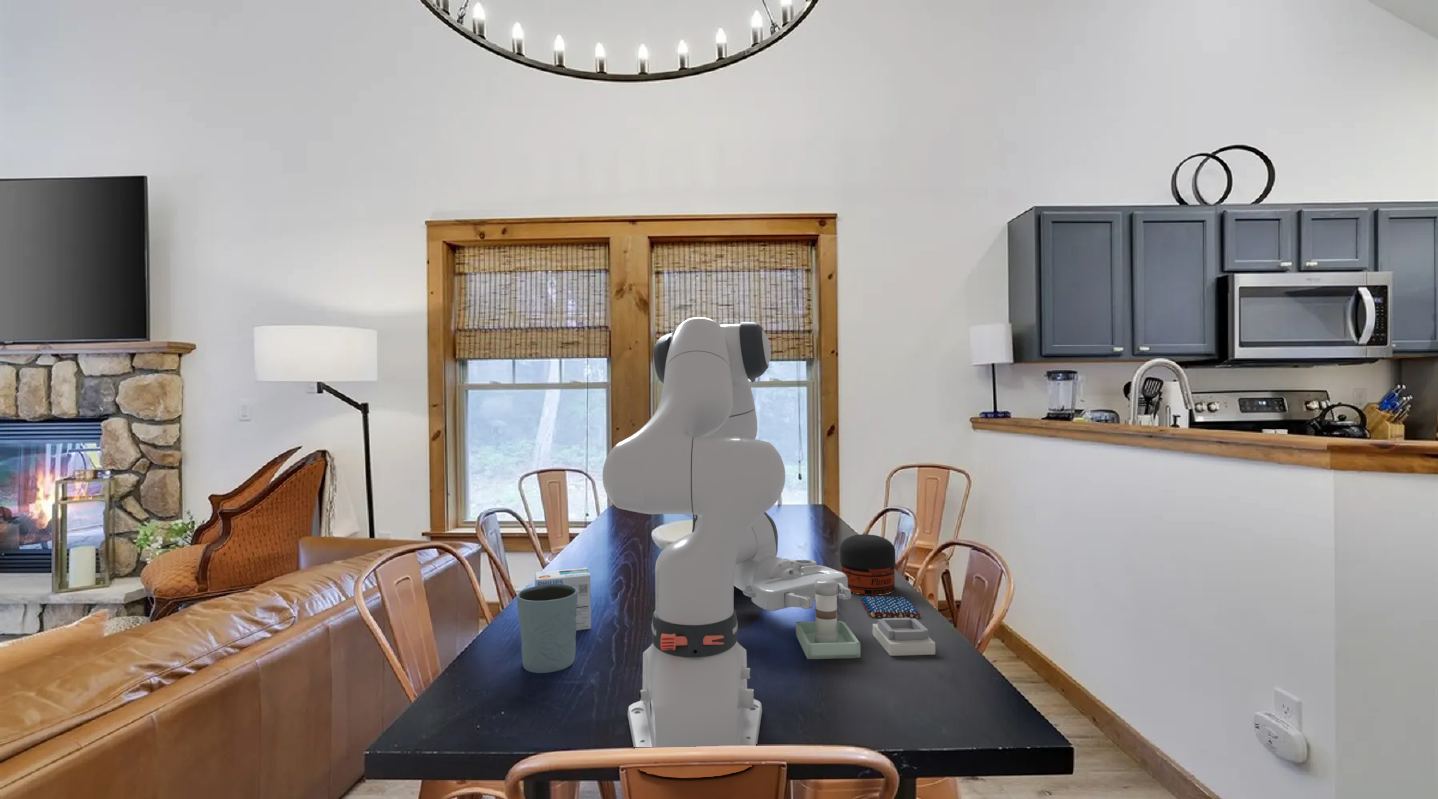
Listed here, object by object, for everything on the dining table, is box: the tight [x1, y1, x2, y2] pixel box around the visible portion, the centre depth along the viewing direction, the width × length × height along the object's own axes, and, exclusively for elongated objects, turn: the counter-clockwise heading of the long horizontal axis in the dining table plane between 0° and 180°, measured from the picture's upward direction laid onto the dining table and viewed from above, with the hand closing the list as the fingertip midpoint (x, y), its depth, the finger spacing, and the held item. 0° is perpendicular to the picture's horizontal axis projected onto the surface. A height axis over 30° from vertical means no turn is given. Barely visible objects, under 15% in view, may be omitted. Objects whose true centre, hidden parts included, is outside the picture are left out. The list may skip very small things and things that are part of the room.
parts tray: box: [795, 620, 861, 660], centre depth 109 cm, size 11×9×2 cm
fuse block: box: [872, 617, 936, 657], centre depth 110 cm, size 10×8×4 cm
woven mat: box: [860, 595, 921, 619], centre depth 129 cm, size 10×11×2 cm
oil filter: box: [839, 533, 896, 596], centre depth 145 cm, size 13×12×13 cm
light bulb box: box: [534, 567, 592, 631], centre depth 120 cm, size 11×7×11 cm, turn 108°
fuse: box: [814, 578, 838, 643], centre depth 109 cm, size 4×4×11 cm
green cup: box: [516, 584, 578, 674], centre depth 103 cm, size 10×10×12 cm
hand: (829, 599), depth 108 cm, fingers open, 8 cm apart
